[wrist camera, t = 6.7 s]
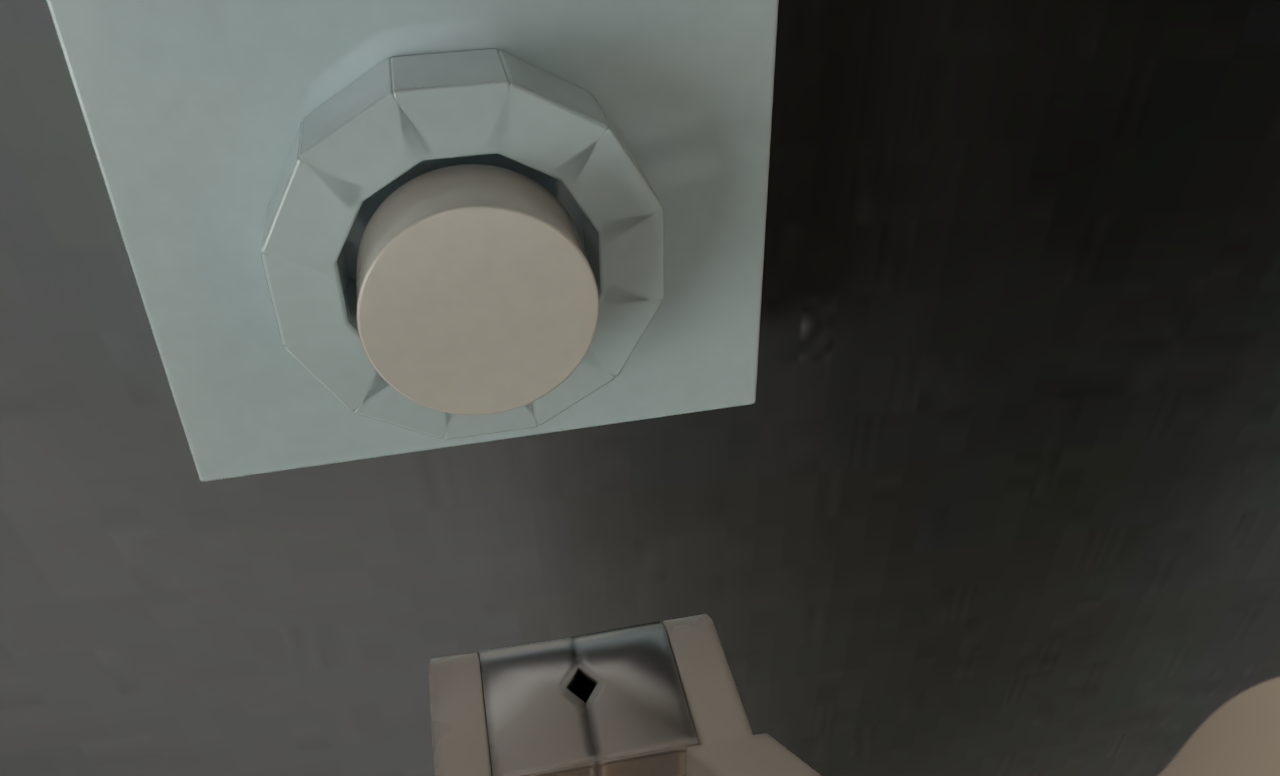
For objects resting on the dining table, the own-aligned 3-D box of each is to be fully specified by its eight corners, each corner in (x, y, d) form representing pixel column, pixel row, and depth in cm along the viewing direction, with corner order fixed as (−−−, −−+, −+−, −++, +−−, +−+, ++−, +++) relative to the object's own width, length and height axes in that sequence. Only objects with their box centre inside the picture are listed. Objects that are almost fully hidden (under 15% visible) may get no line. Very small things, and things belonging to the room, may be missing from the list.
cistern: (731, -102, 21) (820, -42, 17) (718, 332, 27) (782, 453, 23) (80, -64, 19) (8, 15, 15) (215, 397, 25) (188, 542, 21)
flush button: (576, 152, 18) (595, 193, 17) (586, 348, 21) (603, 399, 19) (337, 175, 18) (335, 220, 16) (375, 375, 20) (376, 431, 19)
